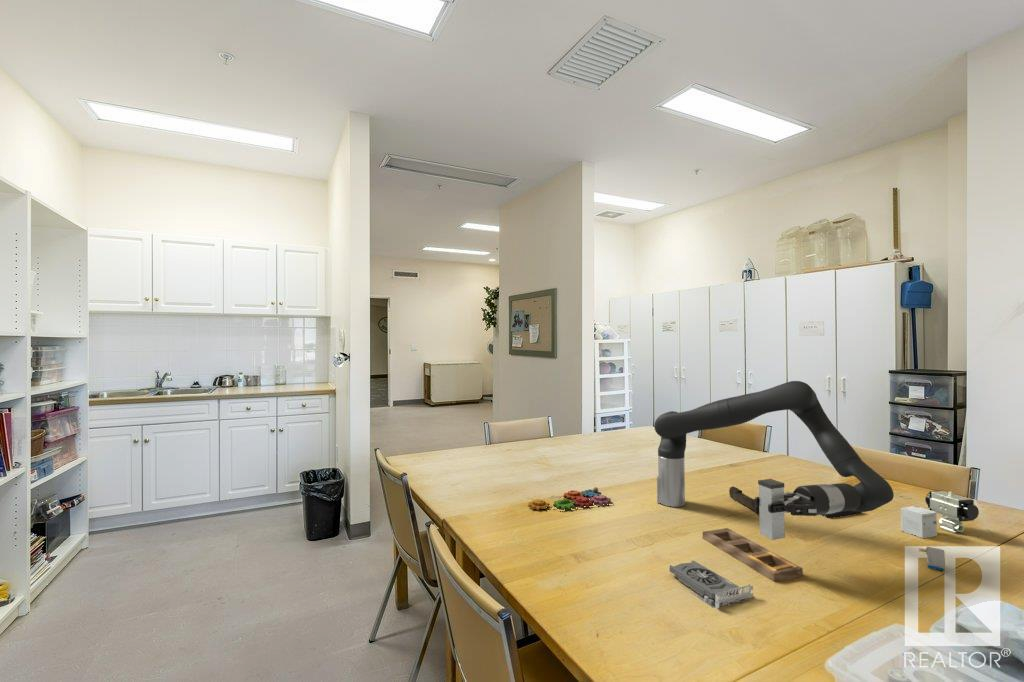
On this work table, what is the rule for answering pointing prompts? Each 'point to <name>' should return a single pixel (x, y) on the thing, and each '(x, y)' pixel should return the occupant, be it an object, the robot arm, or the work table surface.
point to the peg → (769, 522)
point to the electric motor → (934, 558)
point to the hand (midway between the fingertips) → (762, 505)
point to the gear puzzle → (574, 500)
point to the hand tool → (743, 499)
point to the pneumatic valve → (952, 509)
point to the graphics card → (710, 585)
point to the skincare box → (918, 521)
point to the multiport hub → (841, 514)
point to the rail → (753, 555)
